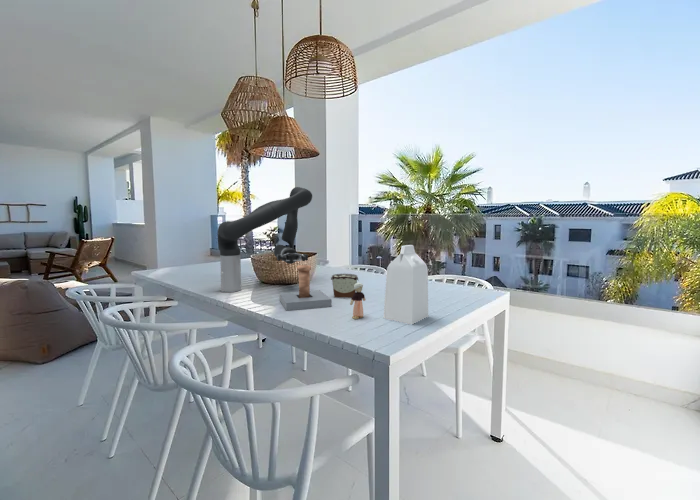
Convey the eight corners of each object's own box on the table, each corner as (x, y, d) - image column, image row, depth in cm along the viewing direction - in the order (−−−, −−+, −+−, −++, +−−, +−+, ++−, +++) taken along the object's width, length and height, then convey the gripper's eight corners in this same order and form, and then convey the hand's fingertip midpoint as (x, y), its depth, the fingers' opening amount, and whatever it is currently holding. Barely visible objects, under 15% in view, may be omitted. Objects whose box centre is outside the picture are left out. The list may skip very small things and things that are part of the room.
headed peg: (299, 305, 143) (298, 267, 141) (296, 302, 148) (296, 265, 146) (312, 304, 145) (312, 266, 143) (309, 301, 150) (309, 264, 148)
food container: (359, 295, 161) (359, 273, 160) (358, 298, 155) (358, 276, 154) (332, 294, 162) (332, 273, 161) (330, 297, 156) (330, 275, 155)
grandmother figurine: (357, 320, 122) (357, 284, 121) (348, 318, 124) (348, 283, 123) (368, 315, 129) (368, 281, 128) (359, 313, 131) (359, 280, 130)
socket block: (286, 310, 135) (286, 302, 134) (279, 299, 152) (279, 293, 151) (331, 306, 141) (331, 299, 141) (319, 296, 158) (319, 290, 157)
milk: (401, 311, 135) (402, 243, 132) (428, 316, 127) (430, 245, 125) (383, 318, 125) (384, 245, 123) (411, 324, 118) (413, 247, 116)
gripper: (274, 247, 173) (279, 250, 158) (303, 247, 178) (310, 250, 163) (274, 263, 174) (279, 267, 158) (303, 262, 178) (310, 266, 163)
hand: (294, 259), depth 161 cm, fingers open, 8 cm apart
